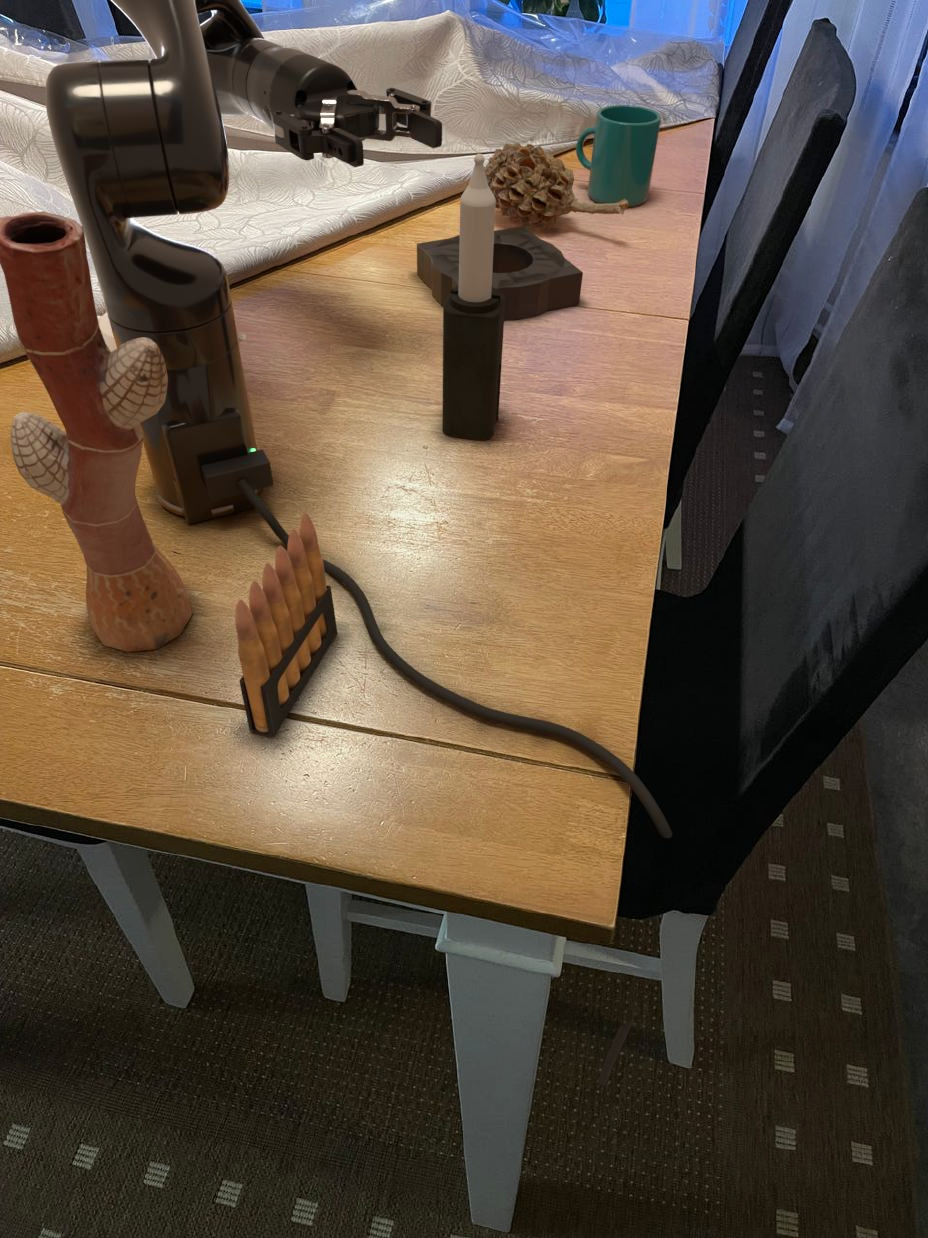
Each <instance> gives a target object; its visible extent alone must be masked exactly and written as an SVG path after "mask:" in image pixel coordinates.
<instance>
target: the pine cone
mask: <svg viewBox="0 0 928 1238" xmlns="http://www.w3.org/2000/svg"><path fill="white" fill-rule="evenodd" d="M487 161H488V162H487V164H485V166H484V170H485V174H486V178H487V182H488V186H489V188H490V190H491V191H492V193H493V195H494V197H495V199H496V205H495V209H500V213H501V216H502V217H503V216H505V217H509V220H510V221H517V220H518V219H519V221H520V223H521V224H522V225H525V224H527V223H529V225H531V226H532V227H536V226H538V225H540V224H542V226H543V228H545V229H546V230H549V229H553V228H554V227H555V226H556V224H557V220H558V219H560V218H561V217H562V216H564V215H569V214H570V213H571V212H573V213H581V214H582V213H587V214H591V215H595V214H598V215H616V214H617V215H619V214H620V215H622V216H623V215H624V214H625V211H626V210H627V209H628V208H629V207H628V200H625V199H623V200H622V201H620V202H617V203H612V204H600V203H597V202H595V203H589V202H585V201H580V200H578V199H579V198H576V195H575V193H574V191H573V186H574V182H575V175H574V171H573V170H572V169H569V168H567V167H566V166H565V163H564V161H563V160H562V159H561V158H555V157H554V155H553V154H552V153H546V154H545V150H544V149H543V147H542V146H541V145H538V146H534V145H533V144H532V143H527V144H526V145H522V144H520V143H519V142H518V143H517V142H515V143H514V144H511V143H505V144H504V145H503V146H502V149H501V148H495V150H494V152H493V155H491V156H489V157H488V159H487Z"/></svg>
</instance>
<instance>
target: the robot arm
mask: <svg viewBox="0 0 928 1238" xmlns="http://www.w3.org/2000/svg"><path fill="white" fill-rule="evenodd" d="M110 1H111V2H112V3H113V4H114V5H115V6H116V7H117V8H118V9H119V10H120V11H121V12H122V13H123V14H124V15H125V16H126V17H127V18H128V19H129V21H130V22H131V23H132V24H133V25H134V26H135V27H136V29H137V30H138V31H139V33H140V34H141V36H142V38H143V39H144V40H145V42H146V43H147V45H148V46H149V48H150V50H151V52H152V53H153V55H154V57H155V58H150V59H148V58H146V59H145V58H144V59H143V58H142V59H141V58H139V59H117V60H89V61H88V60H87V61H72V62H65V63H60V64H57V65H55V66H53V68H52V67H51V69H50V71H49V72H48V74H47V78H46V82H45V91H44V94H45V96H44V97H45V109H46V115H47V119H48V125H49V129H50V133H51V138H52V141H53V144H54V147H55V151H56V154H57V158H58V160H59V164H60V167H61V170H62V173H63V176H64V178H65V181H66V184H67V188H68V190H69V193H70V195H71V199H72V202H73V205H74V207H75V210H76V213H77V216H78V219H79V222H80V225H81V226H82V227H83V231H84V235H85V242H86V245H87V247H88V250H89V254H90V258H91V261H92V264H93V268H94V271H95V274H96V275H95V276H96V278H97V283H98V285H99V289H100V292H101V296H102V300H103V303H104V307H105V312H106V311H107V314H108V318H109V322H110V325H111V329H112V332H113V336H114V339H115V343H116V347H117V348H118V347H119V346H120V345H122V344H124V343H125V342H127V341H130V340H133V339H137V338H142V337H145V338H149V339H151V340H152V341H154V342H155V343H156V344H157V346H158V347H159V349H160V351H161V353H162V355H163V358H164V360H165V365H166V370H167V376H168V384H167V393H166V398H165V403H164V404H163V405H162V407H161V408H160V410H159V411H158V412H157V414H155V415H153V416H151V417H150V418H148V419H146V420H144V421H142V422H143V434H144V436H143V444H142V445H143V447H144V450H145V454H146V457H147V462H148V464H149V468H150V471H151V475H152V479H153V482H154V491H155V493H156V497H157V500H158V502H159V504H160V505H161V506H162V507H163V508H164V509H166V510H167V511H169V512H170V513H172V514H175V515H177V516H180V517H184V519H185V520H186V523H187V524H189V525H191V524H195V523H198V522H199V523H200V522H203V521H207V520H211V519H214V518H215V519H216V518H220V517H223V516H227V515H231V514H234V513H238V512H239V513H240V512H242V511H246V510H250V509H254V508H255V510H256V512H258V514H259V515H260V516H261V518H263V520H264V521H265V523H266V525H268V527H269V528H270V530H272V532H273V534H275V536H276V537H277V538H278V539H279V540H280V541H281V542H282V543H283V544H284V545H285V546H286V548H288V539H289V533H287V531H286V530H285V529H284V528H283V526H282V525H281V524H280V522H279V521H278V519H277V518H276V516H274V514H273V513H272V511H271V509H269V508H268V506H267V505H266V503H265V502H264V501H263V500H262V499H261V497H260V494H261V492H262V490H263V489H265V488H269V487H270V488H271V487H274V479H273V473H272V472H273V471H272V466H271V462H270V460H269V458H268V456H267V454H266V453H265V451H264V449H263V448H262V449H258V445H257V440H256V435H255V428H254V424H253V418H252V413H251V412H252V411H251V407H250V399H249V395H248V389H247V388H248V387H247V384H246V378H245V371H244V366H243V359H242V354H241V353H242V352H241V348H240V342H238V336H237V332H238V330H237V324H236V318H235V312H234V307H233V306H234V305H233V300H232V295H231V289H230V282H229V277H228V275H227V270H226V269H225V266H224V265H223V263H222V262H221V261H220V260H219V258H218V257H217V256H215V255H214V254H213V253H211V252H209V251H208V250H206V249H203V248H201V247H198V246H194V245H192V244H189V243H185V242H182V241H178V240H175V239H171V238H169V237H165V236H163V235H161V234H158V233H156V232H154V231H152V230H150V229H148V228H146V227H145V226H143V225H142V224H140V223H138V222H137V221H136V220H135V219H136V218H137V219H140V218H152V217H166V216H167V217H168V216H177V215H178V214H179V215H191V214H193V215H194V214H199V213H205V212H209V211H212V210H216V209H217V208H219V207H220V206H222V205H223V203H224V202H225V200H226V198H227V196H228V193H229V186H230V177H231V175H230V174H231V171H230V157H229V150H228V149H229V148H228V143H227V137H226V131H225V126H224V120H223V117H222V116H236V117H237V116H238V117H239V116H240V117H241V116H251V117H252V118H254V119H256V120H258V121H260V122H262V123H264V124H265V125H266V126H267V127H269V128H270V129H271V130H273V133H274V142H275V144H276V145H278V146H279V147H281V148H282V149H284V150H286V151H287V152H289V153H291V154H293V155H294V156H296V157H298V158H299V159H300V160H303V161H308V162H309V161H311V160H314V159H315V154H321V157H322V158H325V159H329V160H330V159H333V158H335V159H337V160H339V161H341V162H343V163H346V164H347V165H349V166H351V167H353V168H358V167H362V166H364V164H365V158H364V144H363V141H365V140H375V141H385V142H392V141H393V140H394V139H395V138H396V137H400V138H401V137H402V138H409V139H410V138H411V140H414V141H415V142H418V143H421V144H423V145H425V146H427V147H430V148H432V149H436V148H440V147H442V144H443V122H442V121H441V120H440V119H437V118H435V117H433V116H432V111H431V110H432V101H430V100H428V99H425V98H423V97H420V96H417V95H415V94H413V93H409V92H406V91H403V90H401V89H398V88H395V87H389V88H386V89H385V95H379V94H369V93H367V92H366V91H364V90H359V89H358V88H357V86H356V85H355V83H354V81H353V79H352V78H351V76H350V75H349V74H348V73H347V72H346V71H345V70H344V69H343V68H341V67H339V66H338V65H336V64H333V63H331V62H329V61H326V60H324V59H321V58H320V57H316V56H314V55H311V54H309V53H307V52H304V51H302V50H299V49H296V48H291V47H284V46H282V45H280V44H277V43H274V42H272V41H270V40H268V39H266V38H265V36H264V35H263V33H262V31H261V30H260V28H259V26H258V25H257V24H256V22H255V20H254V19H253V17H252V16H251V14H249V12H248V11H247V9H246V8H245V6H244V4H243V3H242V2H241V0H110ZM208 12H211V17H209V18H208V19H206V20H205V21H203V22H202V23H200V19H199V18H200V17H199V15H202V14H204V13H208ZM380 115H385V129H384V130H383V129H380ZM398 124H400V125H402V126H399V125H398ZM403 126H404V127H403ZM322 559H323V563H324V570H325V573H327V574H329V575H331V576H333V577H334V578H335V579H336V580H338V581H339V582H341V583H342V584H343V585H344V586H345V587H346V588H347V589H348V591H349V592H350V593H351V594H352V595H353V597H354V599H355V601H356V603H357V605H358V607H359V609H360V612H361V615H362V617H363V621H364V624H365V626H366V629H367V631H368V633H369V635H370V638H371V639H372V641H373V643H374V644H375V646H376V648H377V649H378V650H379V652H380V653H381V654H382V655H383V656H384V657H385V658H386V660H388V662H390V664H391V665H393V667H395V668H396V670H398V671H399V672H400V673H402V674H403V675H404V676H405V677H406V678H408V679H409V680H410V681H412V683H414V684H416V685H417V686H418V687H420V688H421V689H423V690H425V691H427V692H429V693H430V694H432V695H433V696H435V697H437V698H439V699H441V700H443V701H445V702H447V703H448V704H451V705H453V706H454V707H456V708H458V709H461V710H463V711H465V712H467V713H469V714H471V715H474V716H476V717H479V718H481V719H484V720H487V721H491V722H494V723H498V724H500V725H501V724H502V725H505V726H509V727H516V728H518V729H519V728H520V729H525V730H529V731H535V732H539V733H543V734H547V735H550V736H554V737H557V738H560V739H564V740H565V741H567V742H570V743H572V744H574V745H576V746H578V747H580V748H582V749H583V750H585V751H586V752H588V753H590V754H591V755H593V756H594V757H596V758H597V759H599V760H600V761H602V762H603V763H604V764H606V765H607V766H608V767H609V768H610V769H612V771H614V772H615V773H616V774H618V775H619V776H620V777H621V778H622V779H623V780H624V782H625V783H626V784H627V785H628V786H629V787H630V789H631V790H632V791H633V792H634V794H635V795H636V796H637V798H638V799H639V801H640V802H641V804H642V805H643V807H644V809H645V810H646V812H647V814H648V815H649V817H650V819H651V821H652V823H653V824H654V826H655V828H656V830H657V833H658V834H659V836H661V837H662V838H664V839H671V838H672V837H673V831H672V830H671V827H670V825H669V823H668V821H667V819H666V817H665V816H664V814H663V811H662V810H661V808H660V807H659V805H658V803H657V802H656V800H655V798H654V797H653V795H652V794H651V791H649V789H648V788H647V786H646V785H645V784H644V783H643V781H642V780H641V779H640V777H638V775H637V774H636V773H635V772H634V771H633V770H632V769H631V768H630V767H629V765H627V764H626V763H625V762H624V761H622V760H621V759H620V758H619V757H618V756H617V755H615V754H614V753H612V752H611V751H610V750H609V749H607V748H605V747H604V746H603V745H601V744H599V743H598V742H596V741H595V740H593V739H591V738H590V737H588V736H586V735H584V734H582V733H581V732H578V731H577V730H574V729H571V728H570V727H566V726H564V725H561V724H558V723H555V722H552V721H547V720H543V719H538V718H534V717H529V716H523V715H518V714H514V713H509V712H506V711H505V712H504V711H501V710H497V709H493V708H491V707H488V706H485V705H482V704H480V703H477V702H475V701H474V700H473V701H472V700H470V699H469V698H467V697H464V696H462V695H460V694H458V693H456V692H454V691H453V690H450V689H448V688H447V687H444V686H442V685H441V684H438V683H437V682H435V681H434V680H431V679H430V678H428V677H427V676H425V675H424V674H422V673H421V672H420V671H418V670H416V668H414V667H413V666H412V665H410V664H409V663H408V662H407V661H406V660H404V659H403V657H402V656H400V655H399V654H398V653H397V652H396V651H395V650H394V649H393V648H392V647H391V645H390V644H389V643H388V642H387V640H386V639H385V637H384V636H383V635H382V633H381V630H380V628H379V626H378V623H377V620H376V618H375V615H374V612H373V610H372V607H371V604H370V602H369V601H368V598H367V596H366V594H365V592H364V591H363V590H362V588H361V587H360V586H359V584H358V583H357V582H356V581H355V580H354V579H353V578H352V577H351V576H350V575H349V574H348V573H347V572H345V571H344V570H343V569H341V568H340V567H339V566H336V565H335V564H333V563H332V562H329V561H327V560H326V559H324V558H322ZM634 1022H635V1018H634V1019H631V1020H630V1021H627V1022H626V1023H624V1024H622V1025H620V1026H619V1028H618V1031H617V1032H616V1034H615V1037H614V1040H613V1041H612V1043H611V1046H610V1048H609V1050H608V1053H607V1056H606V1058H605V1061H604V1063H603V1066H602V1068H601V1071H600V1074H599V1077H598V1080H597V1082H598V1084H599V1086H603V1087H605V1086H606V1084H607V1083H608V1079H609V1076H610V1074H611V1072H612V1069H613V1067H614V1065H615V1062H616V1059H617V1057H618V1055H619V1053H620V1051H621V1049H622V1046H623V1044H624V1042H625V1040H626V1038H627V1036H628V1034H629V1032H630V1030H631V1027H632V1026H633V1023H634Z"/></svg>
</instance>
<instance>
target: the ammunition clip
mask: <svg viewBox="0 0 928 1238" xmlns="http://www.w3.org/2000/svg"><path fill="white" fill-rule="evenodd" d="M288 535H289V539H288V547H287V550H286V549H285V547H284V546H283V545H278V547H277V549H276V552H275V559H274V567H273V565H272V564H270V562H266V563H265V565H264V567H263V571H262V577H261V578H262V579H261V583H262V587H261V585H260V584H259V583H258V581H256V580H253V581H252V582H251V584H250V587H249V592H248V605H247V603H246V602H245V601H244V600H243V599H239V600H238V601H237V602H236V606H235V612H234V613H235V614H234V621H235V622H234V623H235V631H236V637H237V643H238V645H237V654H238V659H239V663H240V667H241V672H242V676H241V677H240V679H239V681H238V682H239V686H240V691H241V696H242V700H243V705H244V710H245V716H246V720H247V726H248V729H249V732H252V733H255V734H259V735H261V736H264V737H267V738H275V737H276V736H277V734H278V732H279V731H280V729H281V727H282V726H283V724H284V723H285V721H286V719H287V717H288V716H289V714H290V712H291V711H292V709H293V708H294V706H295V704H296V702H297V701H298V699H299V697H300V696H301V694H302V693H303V691H304V689H305V688H306V687H307V685H308V683H309V681H310V679H311V678H312V676H313V675H314V673H315V672H316V669H317V668H318V666H319V665H320V664H321V661H322V660H323V658H324V656H325V655H326V653H327V651H328V650H329V648H330V647H331V645H332V643H333V642H334V640H335V638H336V636H337V635H338V629H337V621H336V613H335V607H334V599H333V593H332V586H331V585H328V584H327V577H326V571H325V570H324V563H323V559H324V558H323V557H322V554H321V550H320V545H319V541H318V535H317V531H316V528H315V525H314V523H313V521H312V518H311V516H310V515H309V514H308V513H307V512H303V513H302V515H301V518H300V523H299V533H298V531H297V530H296V529H295V528H291V529H290V532H289V533H288Z"/></svg>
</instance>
